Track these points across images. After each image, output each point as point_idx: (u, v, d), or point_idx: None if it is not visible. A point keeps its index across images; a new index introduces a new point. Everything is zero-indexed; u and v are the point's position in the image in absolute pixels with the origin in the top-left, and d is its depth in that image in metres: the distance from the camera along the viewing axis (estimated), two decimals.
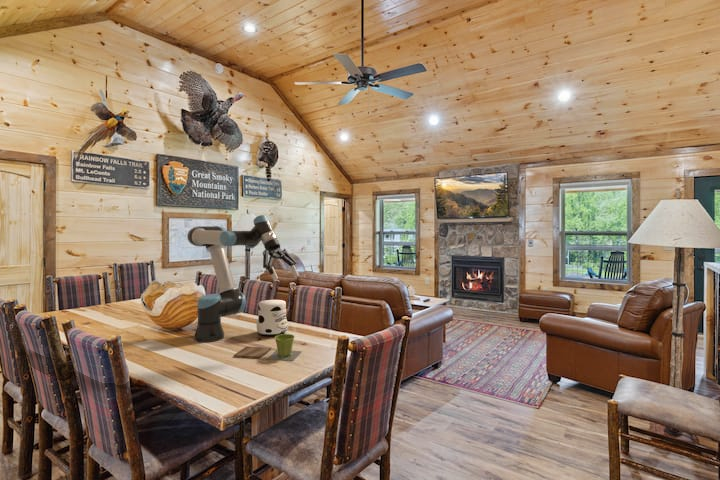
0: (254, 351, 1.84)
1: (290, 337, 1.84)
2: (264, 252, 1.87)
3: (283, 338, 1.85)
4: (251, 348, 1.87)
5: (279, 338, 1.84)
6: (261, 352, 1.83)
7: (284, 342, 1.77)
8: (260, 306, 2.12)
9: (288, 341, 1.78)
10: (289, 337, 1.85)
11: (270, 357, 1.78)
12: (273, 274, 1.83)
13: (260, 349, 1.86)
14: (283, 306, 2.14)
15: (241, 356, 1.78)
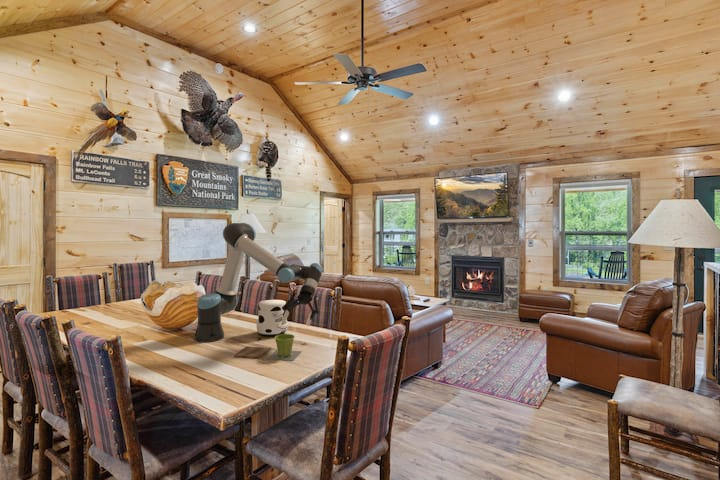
0: (254, 351, 1.84)
1: (290, 337, 1.84)
2: (317, 299, 1.97)
3: (283, 338, 1.85)
4: (251, 348, 1.87)
5: (279, 338, 1.84)
6: (261, 352, 1.83)
7: (284, 342, 1.77)
8: (260, 306, 2.12)
9: (288, 341, 1.78)
10: (289, 337, 1.85)
11: (270, 357, 1.78)
12: (310, 320, 1.89)
13: (260, 349, 1.86)
14: None
15: (241, 356, 1.78)
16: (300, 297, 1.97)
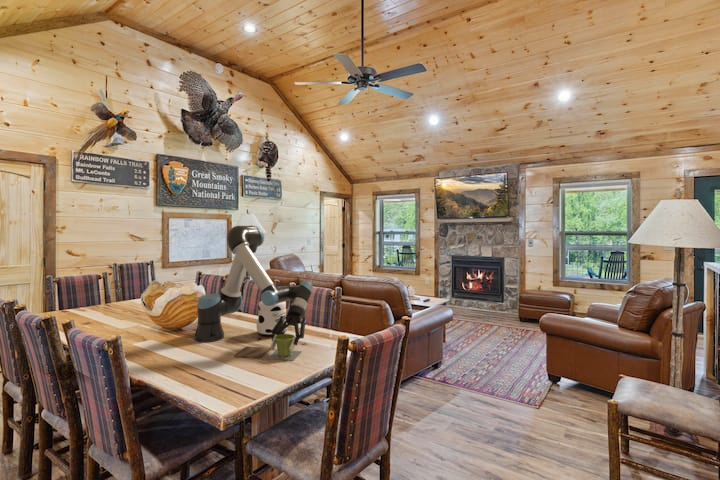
0: (254, 351, 1.84)
1: (290, 337, 1.84)
2: (305, 322, 1.86)
3: (283, 338, 1.85)
4: (251, 348, 1.87)
5: (279, 338, 1.84)
6: (261, 352, 1.83)
7: (284, 342, 1.77)
8: (260, 306, 2.12)
9: (288, 341, 1.78)
10: (289, 337, 1.85)
11: (270, 357, 1.78)
12: (293, 345, 1.78)
13: (260, 349, 1.86)
14: (283, 306, 2.14)
15: (241, 356, 1.78)
16: (288, 318, 1.87)
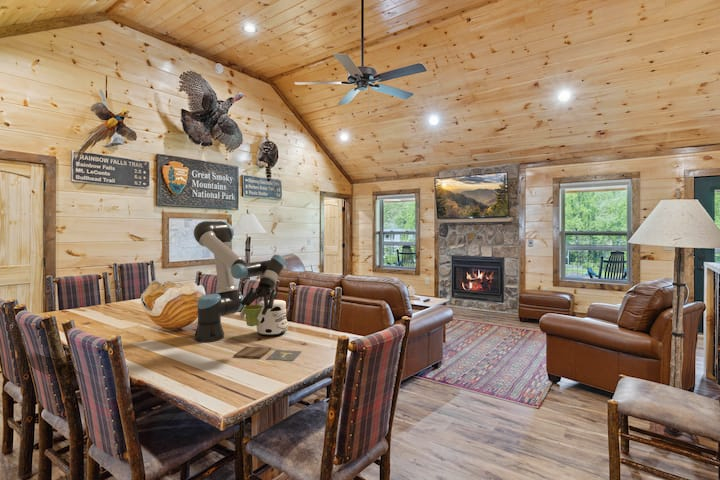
0: (254, 351, 1.84)
1: (259, 308, 1.87)
2: (274, 293, 1.88)
3: (252, 309, 1.87)
4: (251, 348, 1.87)
5: (248, 309, 1.86)
6: (261, 352, 1.83)
7: (252, 312, 1.79)
8: None
9: (256, 311, 1.80)
10: (258, 308, 1.87)
11: (270, 357, 1.78)
12: (261, 315, 1.80)
13: (260, 349, 1.86)
14: (283, 306, 2.14)
15: (241, 356, 1.78)
16: (258, 289, 1.89)
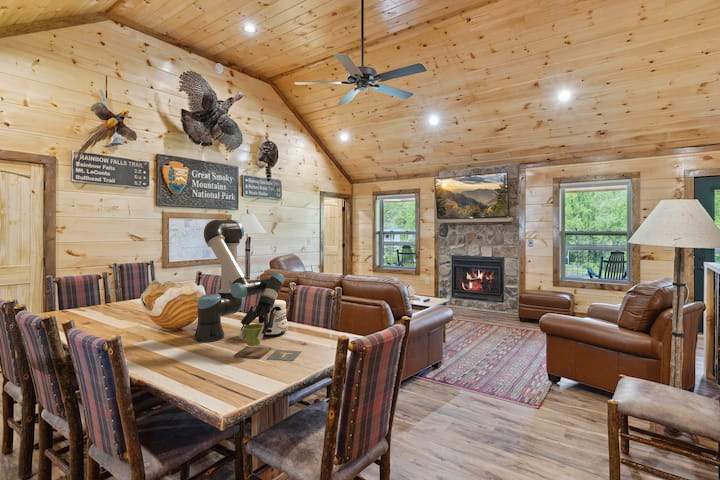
0: (254, 351, 1.84)
1: (259, 327, 1.87)
2: (274, 312, 1.88)
3: (252, 328, 1.87)
4: (251, 348, 1.87)
5: (248, 328, 1.86)
6: (261, 352, 1.83)
7: (252, 332, 1.79)
8: None
9: (256, 330, 1.80)
10: (258, 327, 1.87)
11: (270, 357, 1.78)
12: (261, 334, 1.80)
13: (260, 349, 1.86)
14: (283, 306, 2.14)
15: (241, 356, 1.78)
16: (258, 308, 1.89)
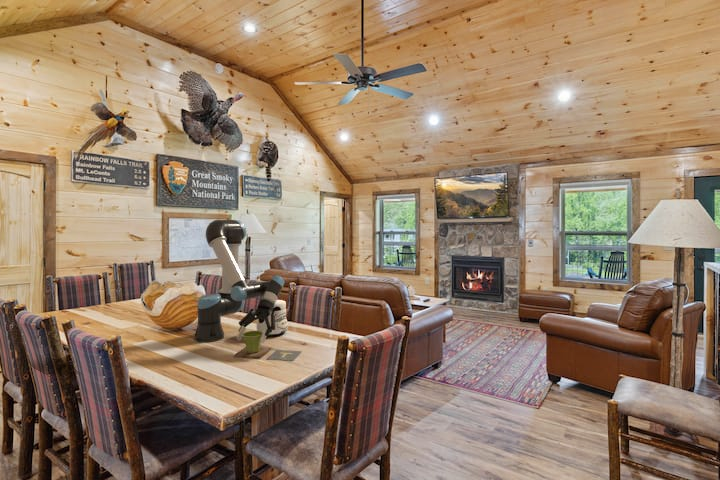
0: None
1: (259, 334, 1.87)
2: (274, 314, 1.89)
3: (252, 335, 1.87)
4: None
5: (248, 335, 1.86)
6: (261, 352, 1.83)
7: (251, 339, 1.79)
8: None
9: (256, 338, 1.80)
10: (258, 334, 1.87)
11: (270, 357, 1.78)
12: (264, 336, 1.81)
13: (260, 349, 1.86)
14: (283, 306, 2.14)
15: (241, 356, 1.78)
16: (257, 312, 1.90)
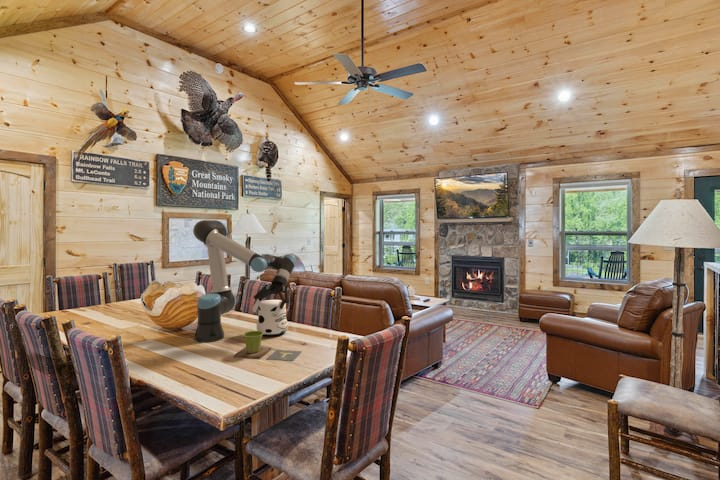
0: None
1: (259, 334, 1.87)
2: (288, 289, 2.01)
3: (252, 335, 1.87)
4: None
5: (248, 335, 1.86)
6: (261, 352, 1.83)
7: (252, 339, 1.80)
8: (260, 306, 2.12)
9: (256, 338, 1.80)
10: (258, 334, 1.87)
11: (270, 357, 1.78)
12: (279, 309, 1.93)
13: (260, 349, 1.86)
14: (283, 306, 2.14)
15: (241, 356, 1.78)
16: (271, 287, 2.02)
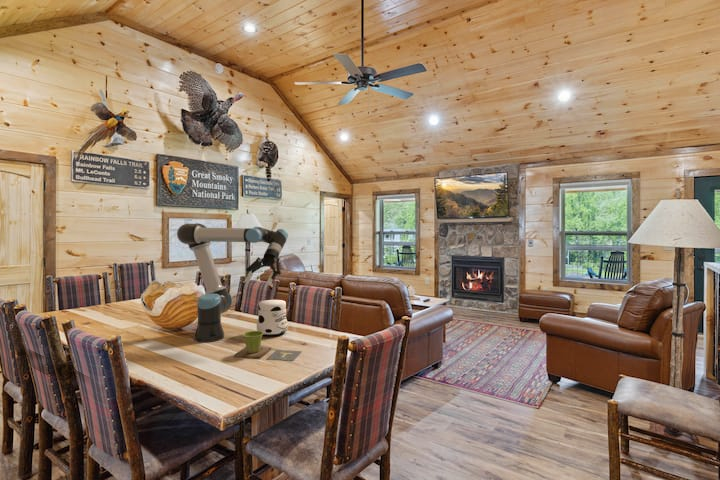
0: None
1: (259, 334, 1.87)
2: (279, 261, 2.06)
3: (252, 335, 1.87)
4: None
5: (248, 335, 1.86)
6: (261, 352, 1.83)
7: (252, 339, 1.80)
8: (260, 306, 2.12)
9: (256, 338, 1.80)
10: (258, 334, 1.87)
11: (270, 357, 1.78)
12: (271, 280, 1.97)
13: (260, 349, 1.86)
14: (283, 306, 2.14)
15: (241, 356, 1.78)
16: (263, 259, 2.06)
